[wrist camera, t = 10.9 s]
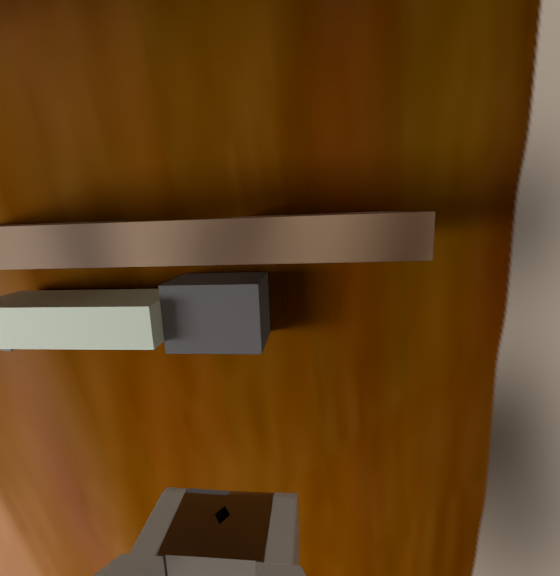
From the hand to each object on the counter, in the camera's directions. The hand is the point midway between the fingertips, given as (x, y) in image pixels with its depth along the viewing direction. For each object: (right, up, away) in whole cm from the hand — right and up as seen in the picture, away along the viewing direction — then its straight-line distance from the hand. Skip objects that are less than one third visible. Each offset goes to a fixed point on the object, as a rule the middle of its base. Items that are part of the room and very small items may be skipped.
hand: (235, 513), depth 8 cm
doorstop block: (-3, +4, +21) cm, 22 cm away
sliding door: (-14, +4, +22) cm, 26 cm away
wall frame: (-7, +10, +20) cm, 24 cm away
